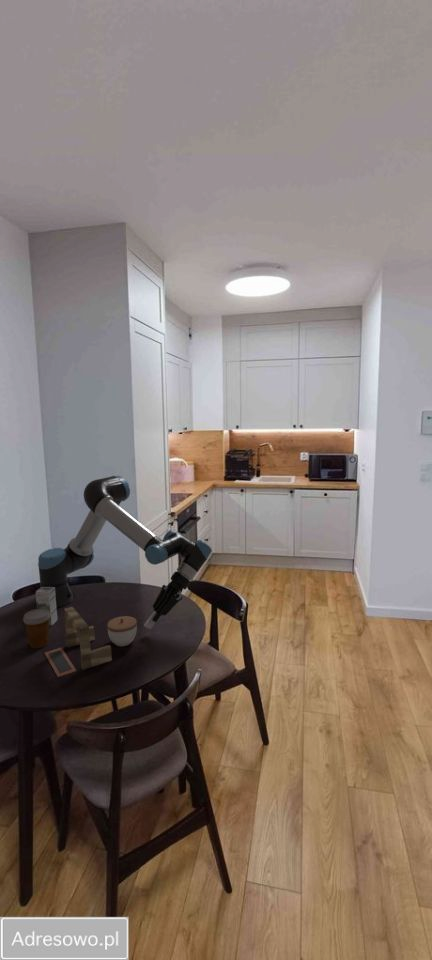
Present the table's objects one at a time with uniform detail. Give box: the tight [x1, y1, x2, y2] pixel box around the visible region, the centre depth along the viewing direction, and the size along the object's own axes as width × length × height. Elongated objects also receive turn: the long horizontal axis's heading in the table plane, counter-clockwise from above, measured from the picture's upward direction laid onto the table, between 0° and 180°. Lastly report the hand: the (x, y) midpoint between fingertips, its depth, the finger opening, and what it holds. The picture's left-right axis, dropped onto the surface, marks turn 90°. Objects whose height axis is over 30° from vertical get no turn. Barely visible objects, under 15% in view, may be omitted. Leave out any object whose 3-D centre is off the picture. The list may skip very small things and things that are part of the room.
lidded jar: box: [106, 615, 138, 647], centre depth 167 cm, size 11×11×9 cm
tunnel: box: [63, 606, 113, 671], centre depth 159 cm, size 19×10×14 cm, turn 34°
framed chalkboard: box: [44, 647, 77, 678], centre depth 155 cm, size 18×6×1 cm, turn 34°
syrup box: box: [35, 587, 58, 627], centre depth 183 cm, size 6×6×14 cm
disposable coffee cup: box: [22, 608, 51, 649], centre depth 166 cm, size 10×10×12 cm
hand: (146, 627), depth 172 cm, fingers closed
